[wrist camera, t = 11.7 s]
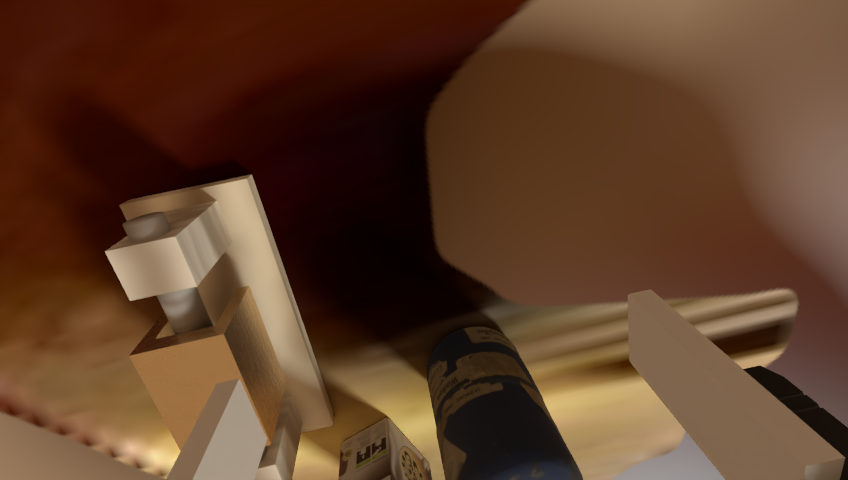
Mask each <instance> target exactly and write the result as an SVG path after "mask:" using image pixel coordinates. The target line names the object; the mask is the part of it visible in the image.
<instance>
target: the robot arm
mask: <svg viewBox="0 0 848 480" xmlns="http://www.w3.org/2000/svg"><path fill="white" fill-rule="evenodd" d="M628 324H629V361H630V362H631V364H632V365H633V366H634V367H635V369H636V370H637V371H638V372H639V373H640V375H641V376H642V377H643V378H644V380H645V381H646V382H647V383H648V385H649V386H650V387H651V388H652V390H653V391H654V392H655V393H656V394H657V396H658V397H659V398H660V399H661V401H662V402H663V403H664V404H665V406H666V407H667V408H668V409H669V410H670V412H671V413H672V414H673V415H674V417H675V418H676V419H677V420H678V422H679V423H680V424H681V425H682V427H683V428H684V429H685V430H686V431H687V433H688V434H689V435H690V436H691V438H692V439H693V440H694V441H695V443H696V444H697V445H698V446H699V448H700V449H701V450H702V451H703V452H704V454H705V455H706V456H707V457H708V459H709V460H710V461H711V462H712V464H713V465H714V466H715V467H716V468H717V470H718V471H719V472H720V473H721V475H722V476H723V477H724V478H725V480H848V428H847V427H846V426H845V425H844V424H842V423H841V422H840V421H839V420H837V419H836V418H835V417H833V416H832V415H831V414H830V413H828V412H827V411H826V410H825V409H823V408H820V407H819V406H818V404H817V403H816V402H814V401H813V400H812V399H811V398H810V397H808V396H807V395H804V394H803V392H802V391H801V390H800V389H798V388H797V387H796V386H795V385H793V384H792V383H791V382H790V381H788V380H787V379H786V378H784V377H783V376H781V375H779V374H776V373H774V372H772V371H770V370H768V369H766V368H764V367H762V366H756V367H751V368H747V369H742V368H741V367H740V366H739V365H737V364H736V363H735V362H734V361H733V360H732V359H731V358H729V357H728V356H727V355H726V354H725V353H724V352H722V351H721V350H720V349H719V348H718V347H717V346H716V345H714V344H713V343H712V342H711V341H710V340H709V339H707V338H706V337H705V336H704V335H703V334H702V333H700V332H699V331H698V330H697V329H696V328H695V327H694V326H692V325H691V324H690V323H689V322H688V321H687V320H685V319H684V318H683V317H682V316H681V315H680V314H679V313H677V312H676V311H675V310H674V309H673V308H672V307H670V306H669V305H668V304H667V303H666V302H665V301H664V300H662V299H661V298H660V297H659V296H658V295H657V294H655V293H654V292H653V291H652V290H646V291H641V292H637V293H632V294H628ZM266 441H267V437H266V435H265V433H264V431H263V429H262V427H261V424H260V422H259V420H258V418H257V416H256V414H255V411H254V409H253V407H252V405H251V403H250V401H249V398H248V396H247V394H246V392H245V390H244V387H243V385H242V383H241V381H240V379H234V380H230V381H225V382H220V383H217V384H216V386H215V387H214V389H213V391H212V393H211V395H210V397H209V399H208V401H207V403H206V405H205V406H204V408H203V410H202V412H201V414H200V416H199V418H198V420H197V422H196V424H195V426H194V427H193V429H192V431H191V433H190V435H189V437H188V439H187V441H186V443H185V445H184V447H183V448H182V450H181V452H180V454H179V456H178V458H177V460H176V462H175V464H174V466H173V468H172V469H171V471H170V473H169V475H168V477H167V479H166V480H254V479H255V476H256V473H257V470H258V467H259V464H260V460H261V457H262V454H263V451H264V448H265V444H266Z"/></svg>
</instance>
